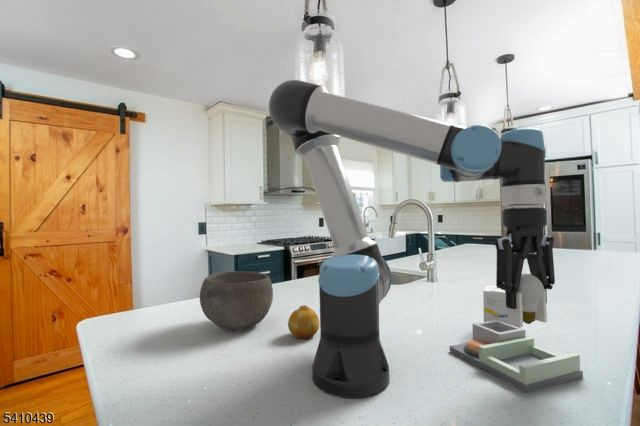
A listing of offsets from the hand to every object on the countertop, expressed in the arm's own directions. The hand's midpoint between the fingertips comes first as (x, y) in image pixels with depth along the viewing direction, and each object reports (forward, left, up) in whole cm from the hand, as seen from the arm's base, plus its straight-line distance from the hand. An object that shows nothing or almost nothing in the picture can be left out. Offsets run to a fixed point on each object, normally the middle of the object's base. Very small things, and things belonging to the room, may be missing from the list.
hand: (527, 322), depth 65 cm
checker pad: (-4, +9, -8) cm, 12 cm away
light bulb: (0, 0, 0) cm, 0 cm away
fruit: (-36, +36, -10) cm, 52 cm away
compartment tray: (0, +4, -10) cm, 11 cm away
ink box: (+14, +18, -10) cm, 25 cm away
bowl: (-52, +51, -10) cm, 74 cm away
